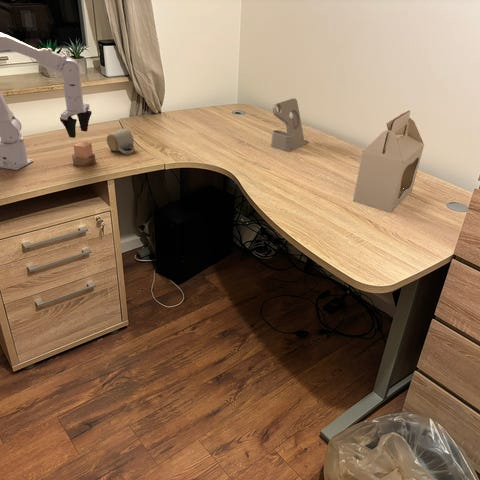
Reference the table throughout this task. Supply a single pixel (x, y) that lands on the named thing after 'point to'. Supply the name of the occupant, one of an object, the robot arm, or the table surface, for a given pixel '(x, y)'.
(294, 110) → the phone holder
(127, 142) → the ceramic mug
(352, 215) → the table surface
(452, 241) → the table surface
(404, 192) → the gable box
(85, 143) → the cube
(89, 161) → the pedestal
